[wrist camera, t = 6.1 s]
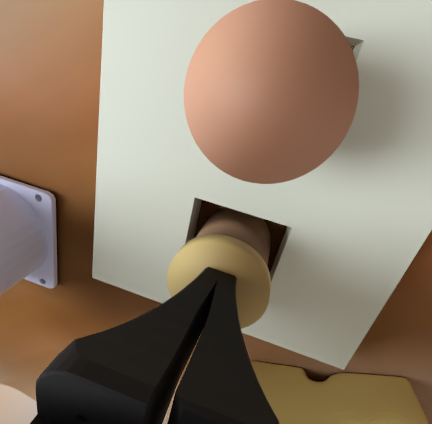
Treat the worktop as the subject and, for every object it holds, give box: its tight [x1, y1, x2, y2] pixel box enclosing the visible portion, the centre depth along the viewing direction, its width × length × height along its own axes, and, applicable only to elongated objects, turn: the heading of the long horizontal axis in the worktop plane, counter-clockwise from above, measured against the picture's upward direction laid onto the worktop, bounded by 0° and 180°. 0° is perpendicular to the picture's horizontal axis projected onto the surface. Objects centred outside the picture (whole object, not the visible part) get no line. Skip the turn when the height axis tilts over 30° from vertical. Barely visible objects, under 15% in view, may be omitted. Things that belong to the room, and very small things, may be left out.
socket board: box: [92, 0, 432, 370], centre depth 13 cm, size 16×26×2 cm, turn 167°
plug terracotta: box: [184, 0, 359, 184], centre depth 10 cm, size 5×5×5 cm
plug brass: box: [167, 207, 271, 329], centre depth 15 cm, size 5×5×5 cm
